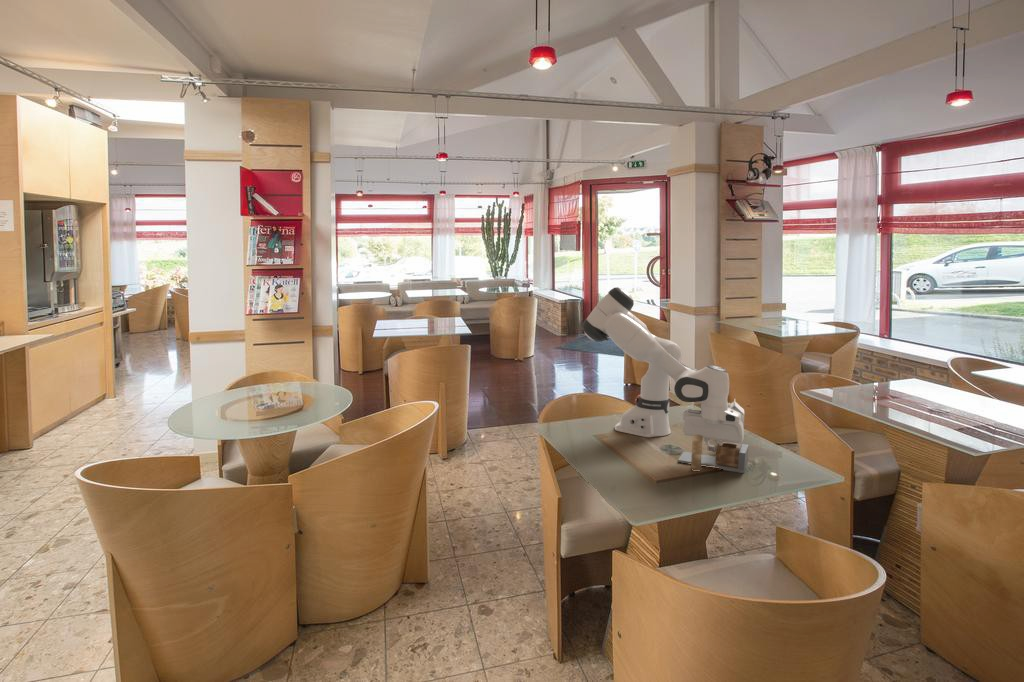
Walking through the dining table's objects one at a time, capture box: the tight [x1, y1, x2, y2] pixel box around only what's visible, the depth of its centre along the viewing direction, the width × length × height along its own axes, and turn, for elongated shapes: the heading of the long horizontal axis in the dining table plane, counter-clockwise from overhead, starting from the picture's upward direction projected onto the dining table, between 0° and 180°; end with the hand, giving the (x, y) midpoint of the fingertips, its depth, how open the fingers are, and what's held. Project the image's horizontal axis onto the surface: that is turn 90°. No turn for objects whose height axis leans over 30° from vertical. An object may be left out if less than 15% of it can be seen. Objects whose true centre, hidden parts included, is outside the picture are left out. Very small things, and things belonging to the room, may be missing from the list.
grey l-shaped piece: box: [677, 443, 749, 474], centre depth 217 cm, size 22×10×7 cm, turn 63°
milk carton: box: [723, 398, 745, 444], centre depth 231 cm, size 7×7×19 cm
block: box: [715, 440, 742, 467], centre depth 215 cm, size 7×7×6 cm
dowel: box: [690, 435, 704, 470], centre depth 210 cm, size 3×3×12 cm
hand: (711, 450), depth 217 cm, fingers closed
